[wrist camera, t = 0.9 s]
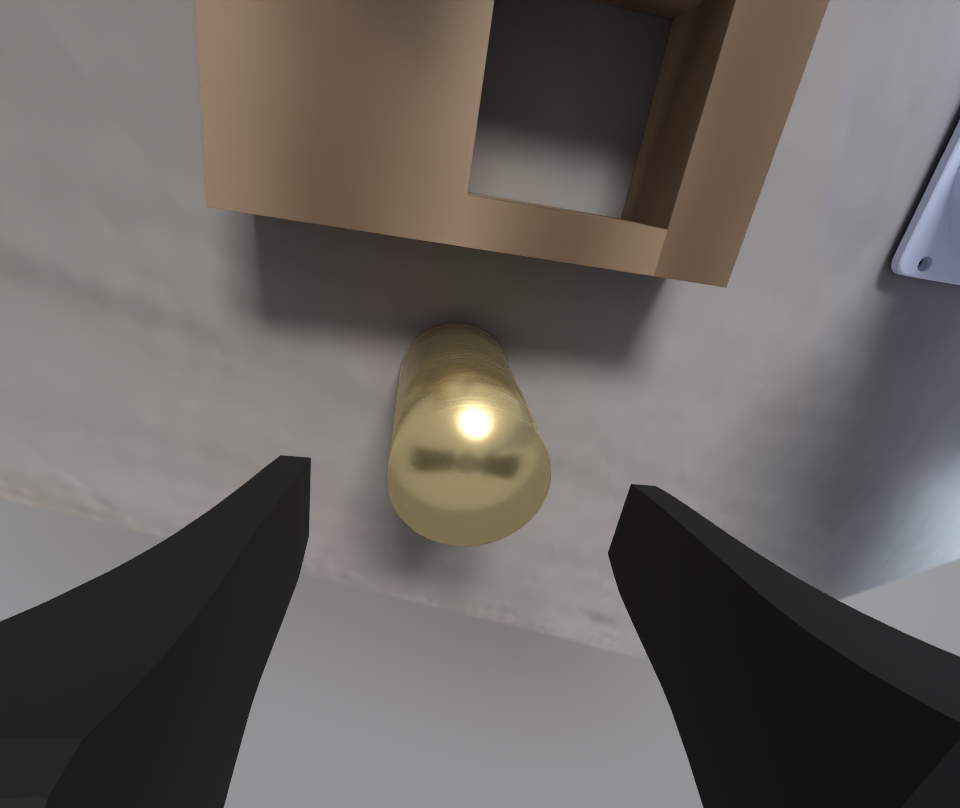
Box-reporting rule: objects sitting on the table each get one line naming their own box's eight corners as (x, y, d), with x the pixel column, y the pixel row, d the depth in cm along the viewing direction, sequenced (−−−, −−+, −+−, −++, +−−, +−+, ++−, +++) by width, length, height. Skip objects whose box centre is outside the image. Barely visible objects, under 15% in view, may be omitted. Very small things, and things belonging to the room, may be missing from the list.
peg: (517, 330, 18) (567, 415, 12) (498, 428, 20) (533, 550, 13) (405, 316, 17) (394, 398, 11) (395, 418, 19) (380, 541, 13)
